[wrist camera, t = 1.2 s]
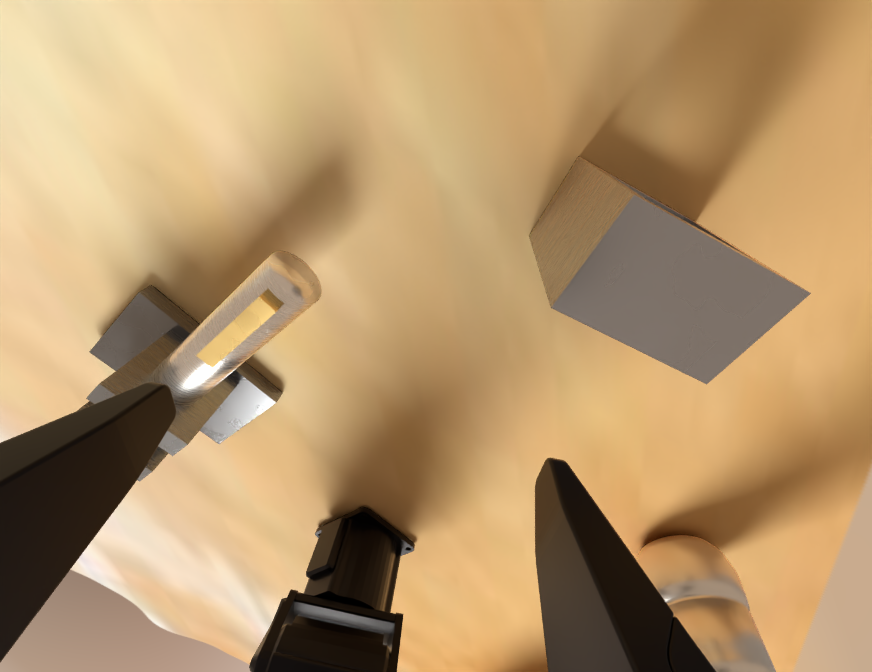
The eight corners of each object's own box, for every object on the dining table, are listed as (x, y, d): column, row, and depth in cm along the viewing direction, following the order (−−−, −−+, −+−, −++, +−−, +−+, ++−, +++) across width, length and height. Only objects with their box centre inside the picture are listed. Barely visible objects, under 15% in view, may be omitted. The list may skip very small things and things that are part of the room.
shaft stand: (387, 316, 23) (358, 383, 17) (226, 434, 29) (170, 507, 24) (247, 171, 19) (158, 201, 14) (102, 343, 26) (5, 407, 21)
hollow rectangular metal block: (695, 221, 18) (811, 293, 12) (636, 291, 20) (706, 384, 14) (578, 156, 17) (634, 194, 11) (529, 235, 19) (550, 307, 13)
